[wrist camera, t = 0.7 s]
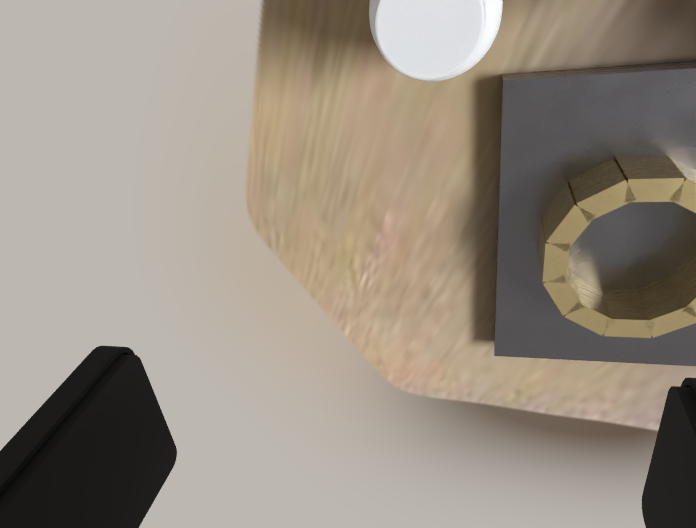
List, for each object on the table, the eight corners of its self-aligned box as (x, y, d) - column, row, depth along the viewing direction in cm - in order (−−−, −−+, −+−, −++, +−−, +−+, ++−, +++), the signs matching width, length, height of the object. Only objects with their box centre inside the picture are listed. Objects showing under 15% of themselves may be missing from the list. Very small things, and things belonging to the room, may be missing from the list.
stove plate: (502, 74, 29) (505, 94, 25) (810, 53, 26) (866, 74, 22) (494, 341, 38) (495, 386, 34) (722, 352, 35) (751, 403, 31)
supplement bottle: (411, 68, 30) (384, 118, 22) (375, -36, 28) (329, -24, 19) (511, 29, 28) (522, 68, 20) (481, -87, 26) (479, -97, 17)
